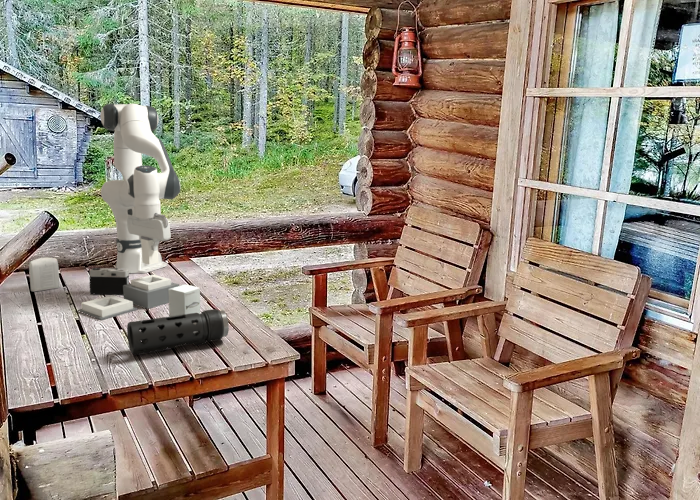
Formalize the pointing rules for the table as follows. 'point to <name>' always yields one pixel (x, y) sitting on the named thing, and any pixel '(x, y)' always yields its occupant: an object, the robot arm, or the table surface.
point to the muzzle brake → (176, 331)
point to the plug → (148, 251)
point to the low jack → (107, 307)
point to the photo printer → (44, 274)
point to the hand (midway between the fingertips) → (149, 249)
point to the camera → (108, 281)
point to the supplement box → (184, 300)
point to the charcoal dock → (148, 291)
